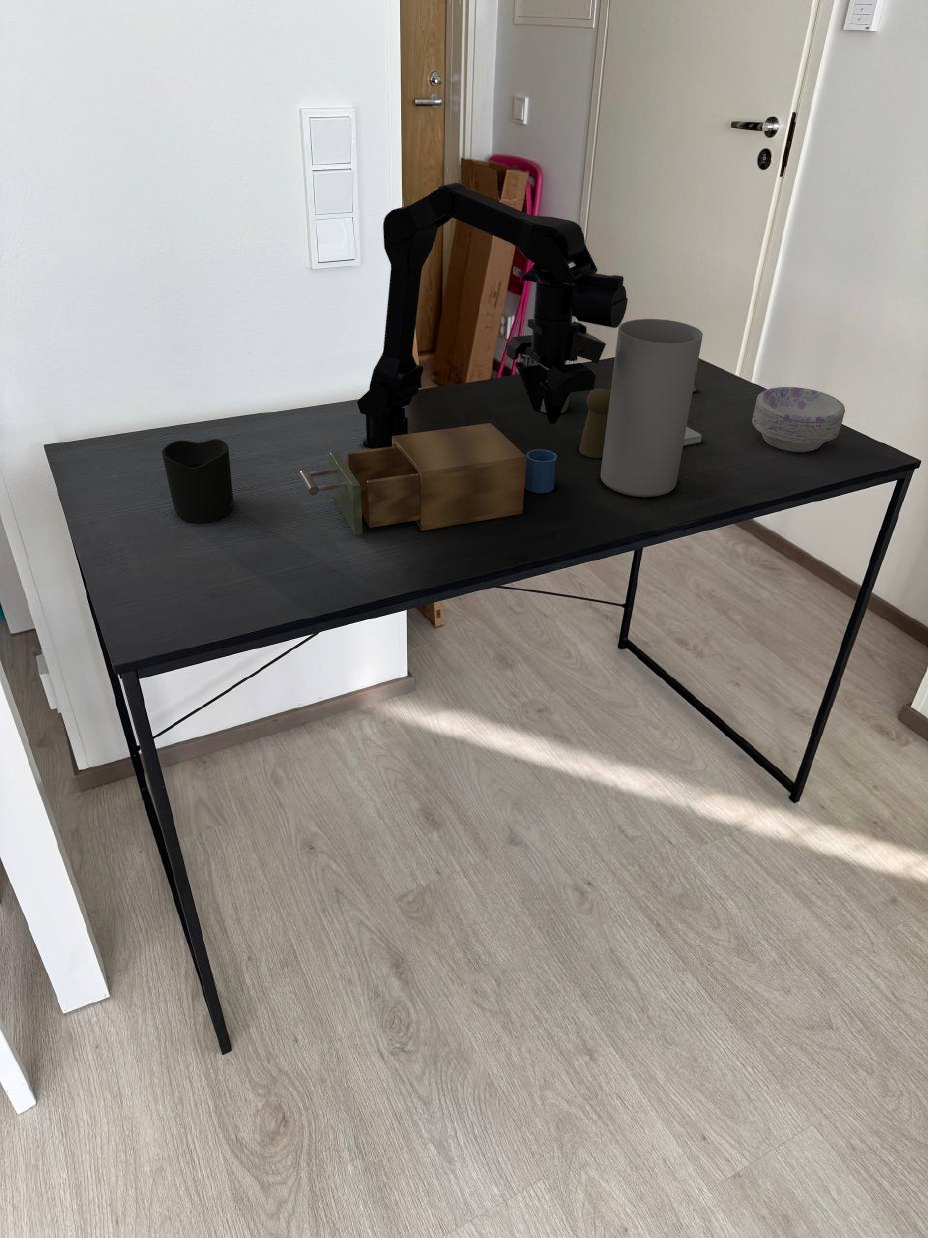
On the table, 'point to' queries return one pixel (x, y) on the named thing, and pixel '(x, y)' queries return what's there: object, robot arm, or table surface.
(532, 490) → the cup
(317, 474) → the drawer
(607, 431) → the cylinder vase
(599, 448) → the cork
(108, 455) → the table surface
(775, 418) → the paper bowls
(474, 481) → the cabinet
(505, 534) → the table surface
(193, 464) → the pen holder
